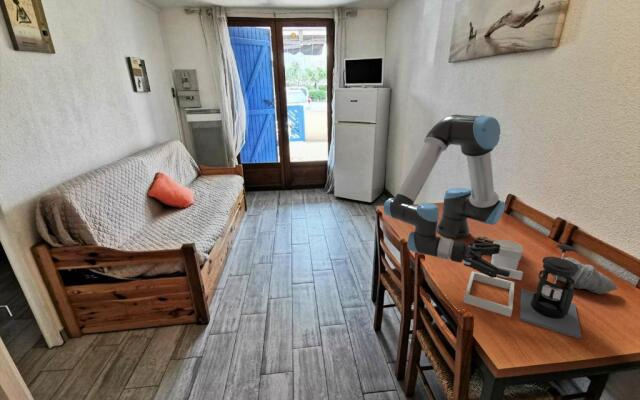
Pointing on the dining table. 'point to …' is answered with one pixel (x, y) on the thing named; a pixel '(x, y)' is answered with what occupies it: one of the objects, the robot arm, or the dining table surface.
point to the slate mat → (563, 325)
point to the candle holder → (506, 261)
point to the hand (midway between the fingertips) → (521, 265)
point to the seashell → (590, 279)
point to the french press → (555, 286)
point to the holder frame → (486, 303)
